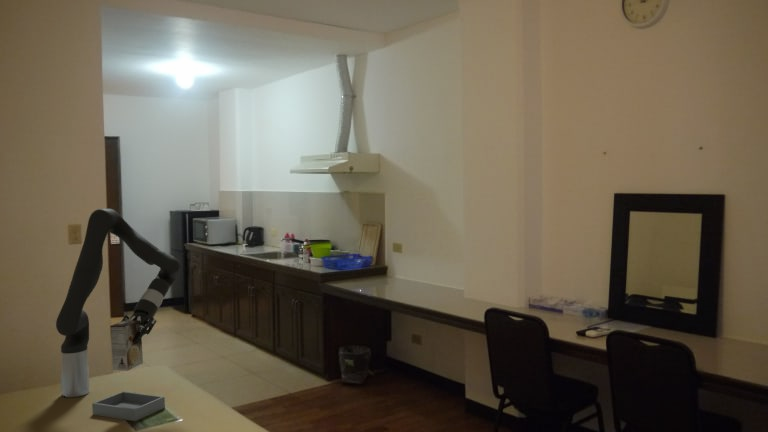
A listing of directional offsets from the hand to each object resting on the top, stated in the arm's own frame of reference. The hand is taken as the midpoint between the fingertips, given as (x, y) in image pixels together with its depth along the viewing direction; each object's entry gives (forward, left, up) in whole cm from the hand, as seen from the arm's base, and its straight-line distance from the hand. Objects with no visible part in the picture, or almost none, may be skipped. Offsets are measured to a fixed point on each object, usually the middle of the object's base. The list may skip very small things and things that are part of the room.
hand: (126, 342), depth 218 cm
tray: (0, 0, -25) cm, 25 cm away
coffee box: (0, 0, -9) cm, 9 cm away
